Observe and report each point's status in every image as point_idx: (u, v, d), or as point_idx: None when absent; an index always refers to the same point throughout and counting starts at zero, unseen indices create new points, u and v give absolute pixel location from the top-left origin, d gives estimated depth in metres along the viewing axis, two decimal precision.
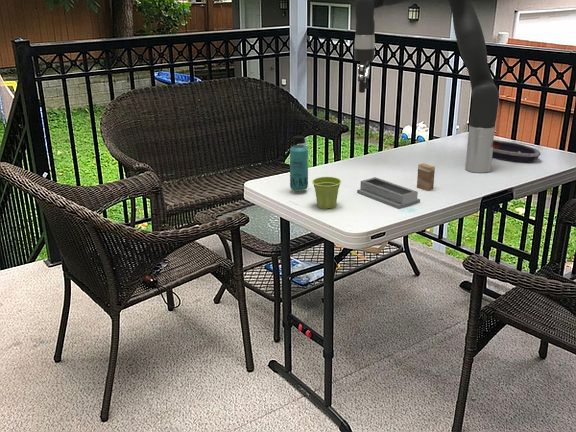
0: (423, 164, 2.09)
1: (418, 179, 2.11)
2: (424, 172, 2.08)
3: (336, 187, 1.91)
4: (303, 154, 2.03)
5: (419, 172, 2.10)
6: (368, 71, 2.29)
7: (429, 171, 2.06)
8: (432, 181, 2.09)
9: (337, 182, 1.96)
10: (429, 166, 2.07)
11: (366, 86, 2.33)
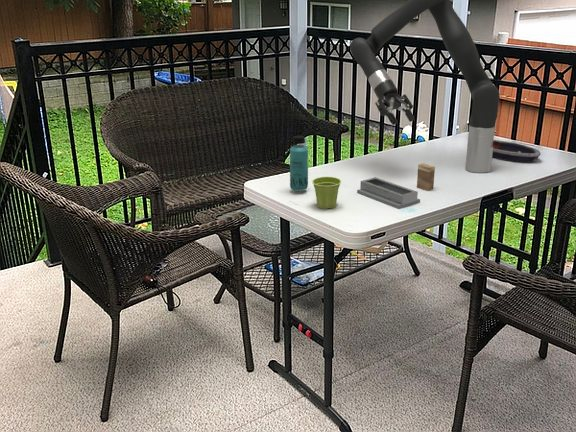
0: (423, 164, 2.09)
1: (418, 179, 2.11)
2: (424, 172, 2.08)
3: (336, 187, 1.91)
4: (303, 154, 2.03)
5: (419, 172, 2.10)
6: (401, 102, 2.14)
7: (429, 171, 2.06)
8: (432, 181, 2.09)
9: (337, 182, 1.96)
10: (429, 166, 2.07)
11: (411, 117, 2.14)
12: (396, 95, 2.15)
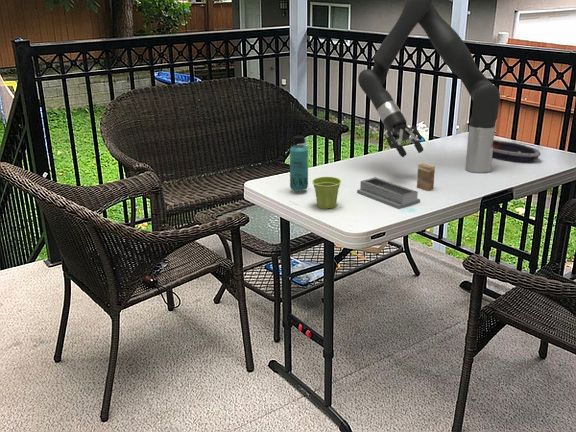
0: (423, 164, 2.09)
1: (418, 179, 2.11)
2: (424, 172, 2.08)
3: (336, 187, 1.91)
4: (303, 154, 2.03)
5: (419, 172, 2.10)
6: (410, 134, 2.14)
7: (429, 171, 2.06)
8: (432, 181, 2.09)
9: (337, 182, 1.96)
10: (429, 166, 2.07)
11: (420, 148, 2.14)
12: (405, 126, 2.15)
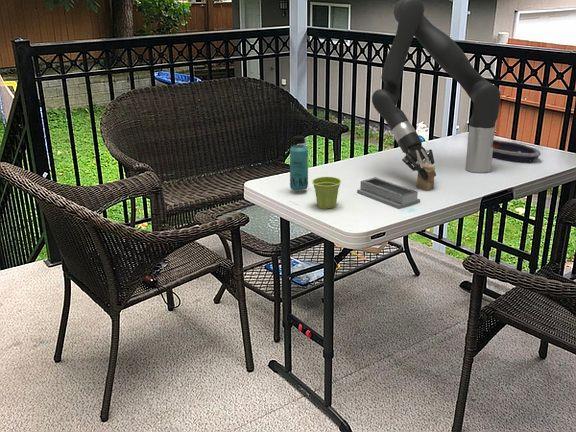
0: (423, 164, 2.09)
1: (418, 179, 2.11)
2: None
3: (336, 187, 1.91)
4: (303, 154, 2.03)
5: None
6: (424, 156, 2.10)
7: (429, 171, 2.06)
8: (432, 181, 2.09)
9: (337, 182, 1.96)
10: (429, 166, 2.07)
11: None
12: (421, 146, 2.12)
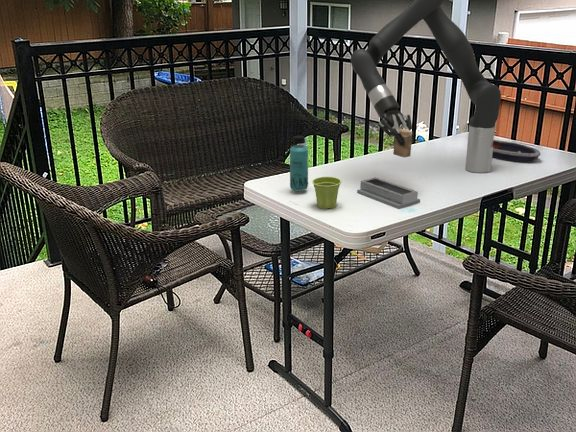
0: (400, 129, 1.99)
1: (395, 145, 2.01)
2: None
3: (336, 187, 1.91)
4: (303, 154, 2.03)
5: (395, 138, 2.00)
6: (401, 121, 1.99)
7: (406, 136, 1.96)
8: (409, 147, 1.98)
9: (337, 182, 1.96)
10: (406, 131, 1.97)
11: None
12: (398, 111, 2.02)
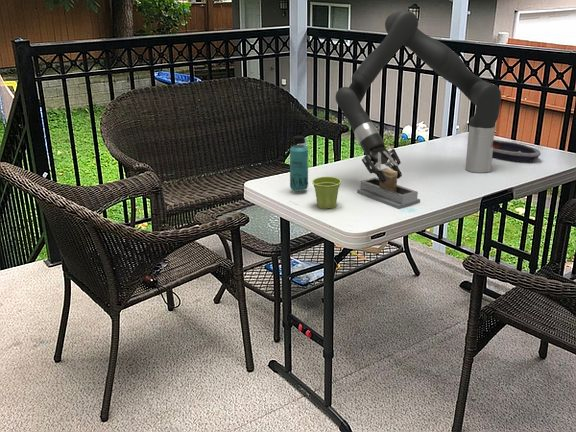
0: (385, 169, 2.01)
1: (381, 185, 2.02)
2: (386, 178, 1.99)
3: (336, 187, 1.91)
4: (303, 154, 2.03)
5: None
6: (388, 158, 2.01)
7: (391, 177, 1.98)
8: (395, 187, 2.00)
9: (337, 182, 1.96)
10: (391, 171, 1.98)
11: (398, 174, 2.01)
12: (383, 149, 2.03)
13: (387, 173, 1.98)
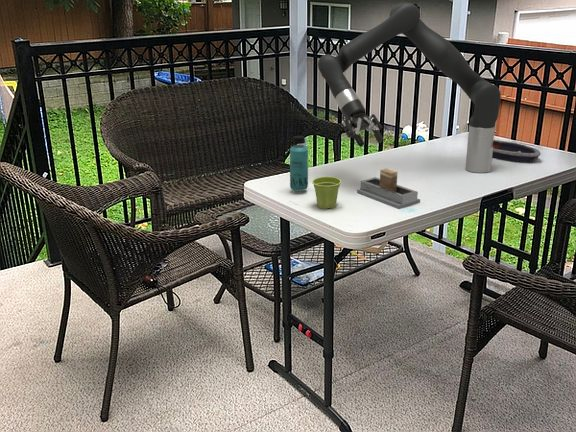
0: (385, 169, 2.01)
1: (381, 185, 2.02)
2: (386, 178, 1.99)
3: (336, 187, 1.91)
4: (303, 154, 2.03)
5: (381, 178, 2.01)
6: (369, 123, 2.05)
7: (391, 177, 1.98)
8: (395, 187, 2.00)
9: (337, 182, 1.96)
10: (391, 171, 1.98)
11: (380, 138, 2.05)
12: (364, 115, 2.07)
13: (387, 173, 1.98)
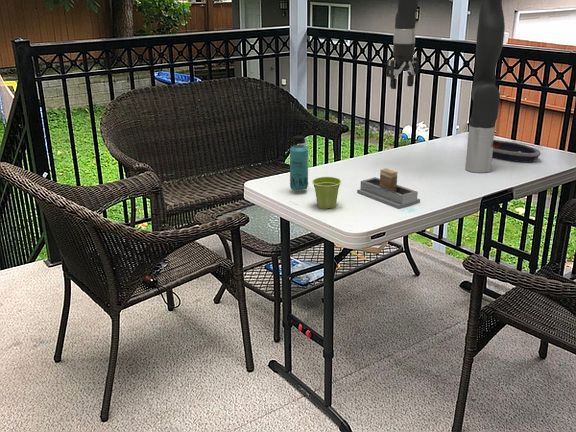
0: (385, 169, 2.01)
1: (381, 185, 2.02)
2: (386, 178, 1.99)
3: (336, 187, 1.91)
4: (303, 154, 2.03)
5: (381, 178, 2.01)
6: (409, 68, 2.15)
7: (391, 177, 1.98)
8: (395, 187, 2.00)
9: (337, 182, 1.96)
10: (391, 171, 1.98)
11: (410, 84, 2.19)
12: (410, 57, 2.15)
13: (387, 173, 1.98)
